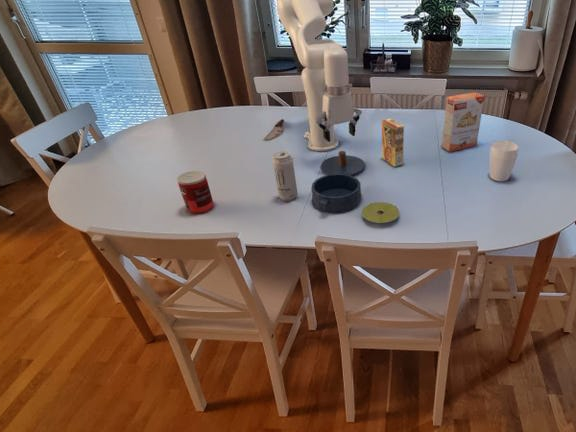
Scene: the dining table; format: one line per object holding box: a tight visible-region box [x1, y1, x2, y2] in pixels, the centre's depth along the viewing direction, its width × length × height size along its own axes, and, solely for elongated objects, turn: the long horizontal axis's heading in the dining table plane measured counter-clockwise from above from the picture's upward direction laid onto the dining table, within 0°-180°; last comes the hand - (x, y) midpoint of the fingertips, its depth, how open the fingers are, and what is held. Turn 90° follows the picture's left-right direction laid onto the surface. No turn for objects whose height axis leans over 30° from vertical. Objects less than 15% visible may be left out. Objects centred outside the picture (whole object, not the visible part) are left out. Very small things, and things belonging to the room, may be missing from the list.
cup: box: [489, 139, 519, 182], centre depth 135 cm, size 9×9×12 cm
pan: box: [310, 172, 362, 214], centre depth 124 cm, size 15×21×6 cm
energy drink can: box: [272, 151, 298, 202], centre depth 123 cm, size 6×6×15 cm
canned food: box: [176, 170, 214, 215], centre depth 119 cm, size 8×8×11 cm
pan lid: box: [320, 150, 366, 176], centre depth 143 cm, size 16×16×6 cm
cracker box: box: [441, 91, 485, 153], centre depth 154 cm, size 14×6×21 cm, turn 118°
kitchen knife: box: [263, 118, 285, 141], centre depth 174 cm, size 21×2×5 cm
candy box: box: [381, 118, 405, 168], centre depth 145 cm, size 9×4×15 cm, turn 33°
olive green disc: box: [361, 201, 400, 224], centre depth 117 cm, size 11×11×2 cm
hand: (340, 137), depth 139 cm, fingers open, 9 cm apart
